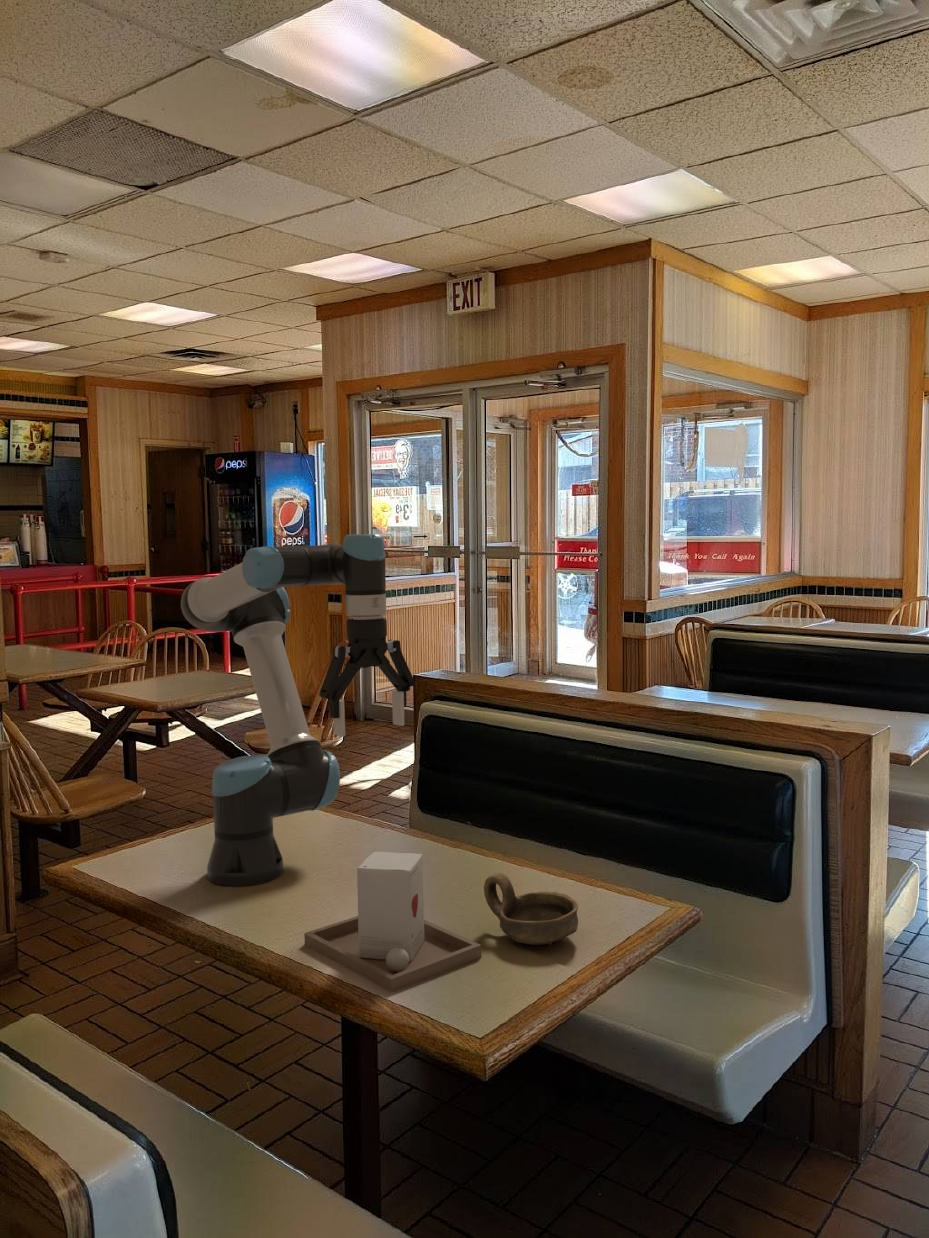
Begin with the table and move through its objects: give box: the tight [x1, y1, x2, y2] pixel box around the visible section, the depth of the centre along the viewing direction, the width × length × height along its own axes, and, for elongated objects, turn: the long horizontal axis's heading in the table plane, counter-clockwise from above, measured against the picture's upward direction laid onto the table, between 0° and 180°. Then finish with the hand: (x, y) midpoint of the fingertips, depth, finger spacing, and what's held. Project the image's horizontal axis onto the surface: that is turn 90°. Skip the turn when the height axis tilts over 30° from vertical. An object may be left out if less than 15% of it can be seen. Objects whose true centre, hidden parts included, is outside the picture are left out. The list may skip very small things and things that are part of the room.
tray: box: [303, 915, 483, 993], centre depth 165 cm, size 24×18×2 cm
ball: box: [386, 948, 409, 972], centre depth 157 cm, size 4×4×4 cm
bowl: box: [483, 872, 579, 946], centre depth 170 cm, size 14×18×10 cm
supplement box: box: [356, 851, 425, 962], centre depth 164 cm, size 9×9×15 cm
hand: (369, 730), depth 189 cm, fingers open, 13 cm apart
